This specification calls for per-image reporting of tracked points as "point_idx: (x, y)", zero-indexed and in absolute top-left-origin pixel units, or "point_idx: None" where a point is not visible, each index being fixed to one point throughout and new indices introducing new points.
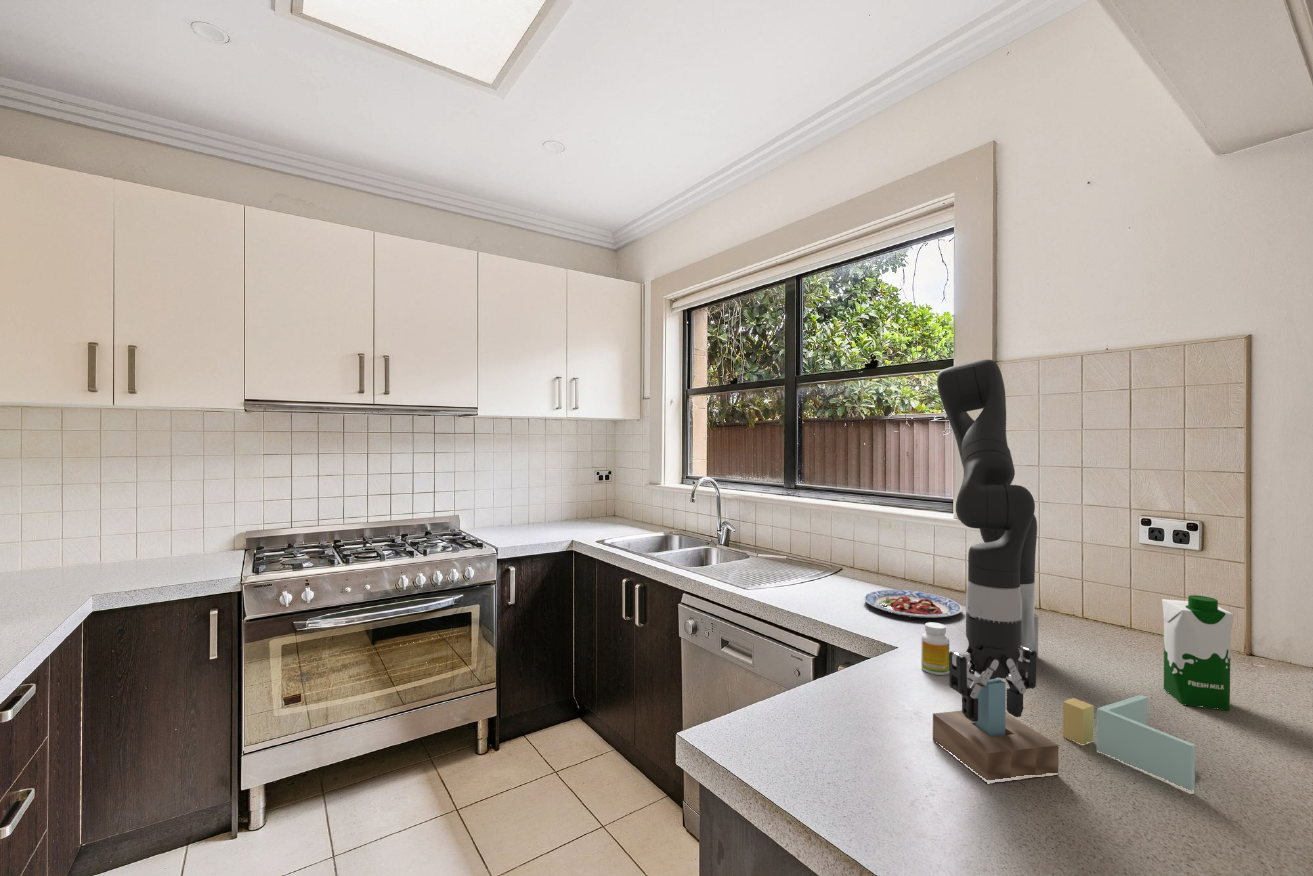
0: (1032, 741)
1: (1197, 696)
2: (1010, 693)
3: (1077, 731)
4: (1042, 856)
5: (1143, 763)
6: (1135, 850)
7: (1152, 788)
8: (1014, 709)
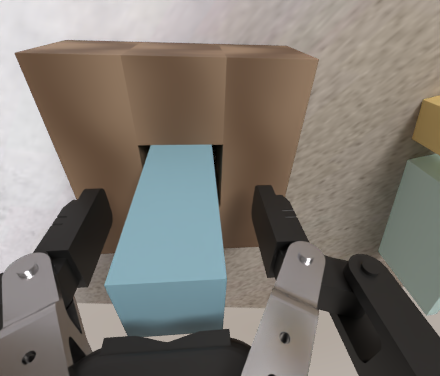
0: (233, 232)
1: None
2: (269, 246)
3: (436, 141)
4: (107, 297)
5: (400, 225)
6: None
7: (353, 238)
8: (255, 222)
